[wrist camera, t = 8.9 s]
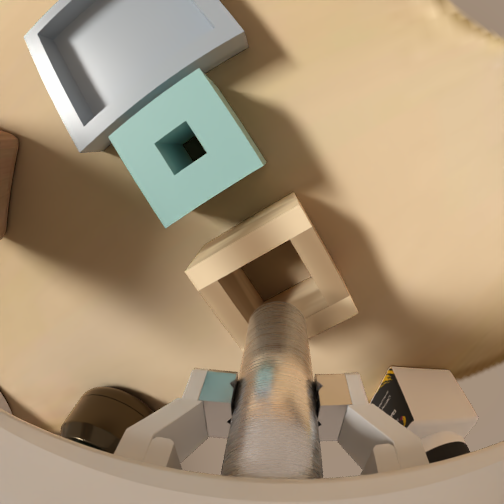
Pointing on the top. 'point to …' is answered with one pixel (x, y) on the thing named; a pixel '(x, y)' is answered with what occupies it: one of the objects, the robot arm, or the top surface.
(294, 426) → the cylinder
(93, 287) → the top surface
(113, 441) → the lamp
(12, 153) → the block
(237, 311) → the wide bore block
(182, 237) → the top surface
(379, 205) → the top surface
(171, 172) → the narrow bore block
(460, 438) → the medicine bottle
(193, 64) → the tray
